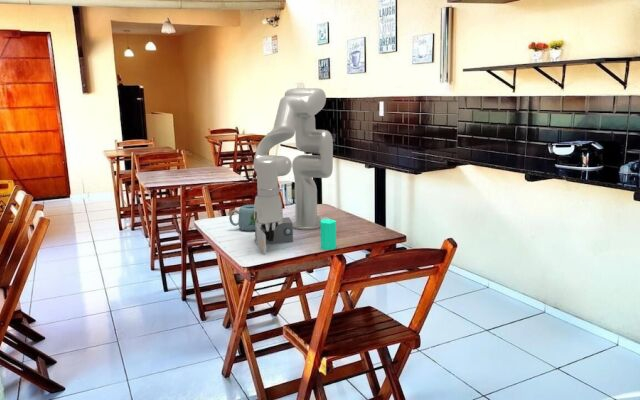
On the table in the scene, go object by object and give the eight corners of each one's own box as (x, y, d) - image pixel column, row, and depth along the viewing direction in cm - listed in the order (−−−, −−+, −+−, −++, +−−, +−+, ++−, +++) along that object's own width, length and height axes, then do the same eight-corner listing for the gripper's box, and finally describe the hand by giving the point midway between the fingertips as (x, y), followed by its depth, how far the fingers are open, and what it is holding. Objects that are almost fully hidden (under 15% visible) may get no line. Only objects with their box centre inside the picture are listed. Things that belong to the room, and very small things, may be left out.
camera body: (289, 236, 217) (288, 215, 215) (293, 242, 208) (292, 220, 206) (255, 238, 214) (254, 217, 212) (257, 244, 205) (257, 223, 203)
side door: (266, 253, 193) (265, 234, 191) (262, 254, 192) (261, 235, 191) (258, 243, 205) (258, 226, 204) (255, 244, 205) (254, 226, 203)
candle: (320, 245, 204) (319, 215, 201) (335, 244, 204) (335, 215, 202) (321, 250, 198) (321, 219, 196) (337, 249, 198) (337, 218, 196)
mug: (233, 234, 221) (232, 211, 219) (226, 228, 231) (225, 206, 229) (267, 230, 227) (266, 207, 224) (259, 224, 236) (259, 202, 234)
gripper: (282, 188, 200) (283, 234, 204) (245, 193, 193) (247, 240, 197) (290, 192, 193) (292, 239, 197) (252, 196, 186) (254, 246, 190)
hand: (269, 240), depth 197 cm, fingers closed
